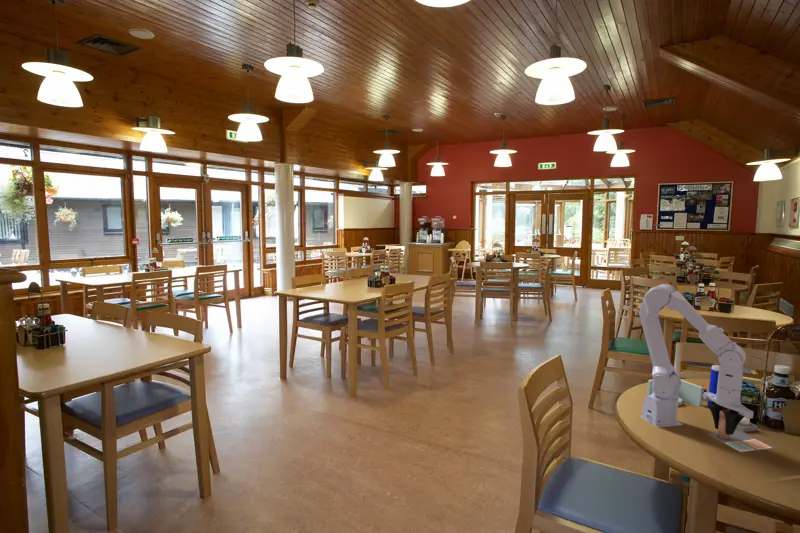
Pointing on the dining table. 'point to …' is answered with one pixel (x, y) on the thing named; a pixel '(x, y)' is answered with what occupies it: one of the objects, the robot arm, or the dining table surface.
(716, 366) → the beverage can
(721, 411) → the tan rounded cylinder
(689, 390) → the l-shaped corner panel
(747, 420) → the button
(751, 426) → the button housing
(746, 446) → the picture board
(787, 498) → the dining table surface
